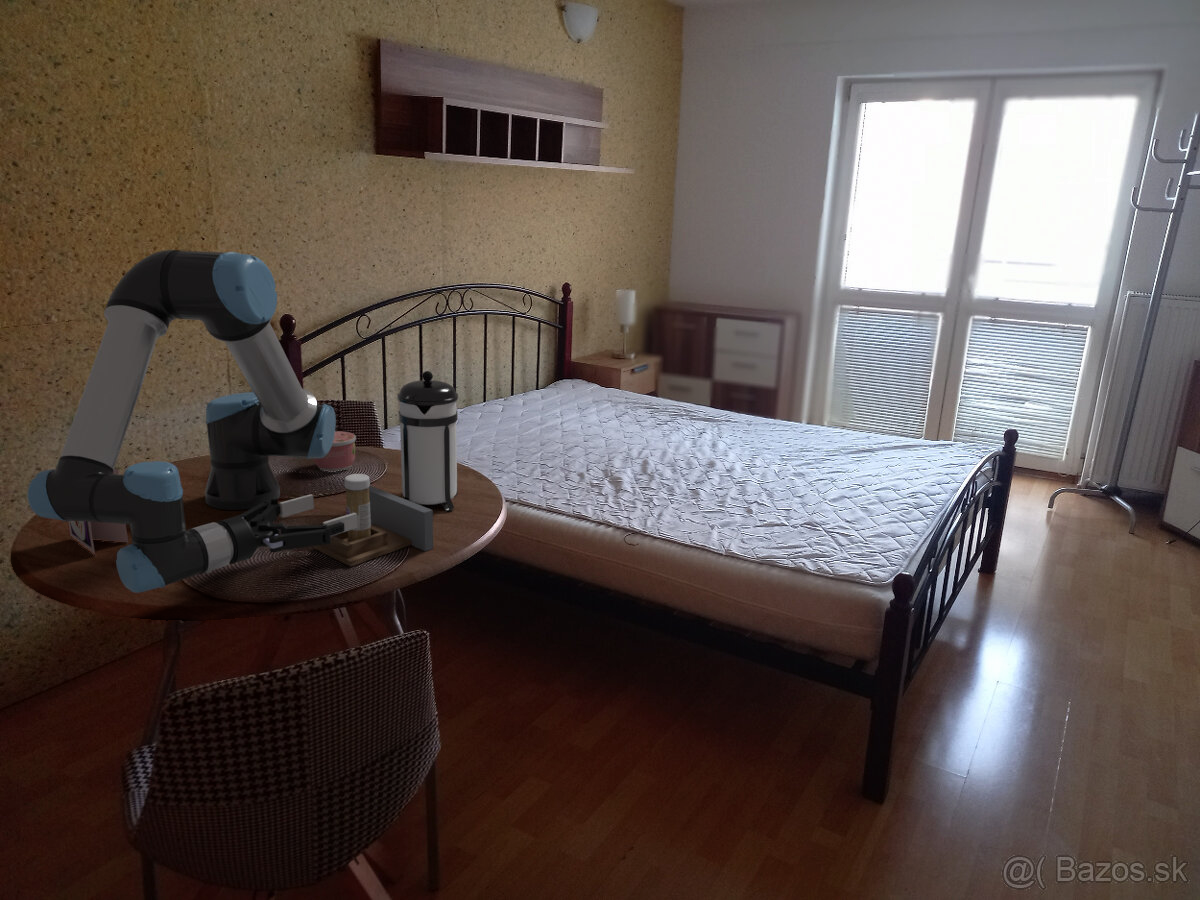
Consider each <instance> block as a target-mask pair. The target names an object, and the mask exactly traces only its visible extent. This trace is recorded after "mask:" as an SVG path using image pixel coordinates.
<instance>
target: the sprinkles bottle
mask: <svg viewBox="0 0 1200 900" xmlns="http://www.w3.org/2000/svg"><path fill="white" fill-rule="evenodd" d="M369 486H371V482H370V476H369V475H367V474H364V473H353V474H349V475H347V476H345V477H344V488H345V492H346V493H345V494H346V507H345V508H346V515H348V514H352V513H356V514H357V527H358V528H355V529H352V530H349V531H348V540H347V542H348V543H350V542H353V541H356V540H359V539H362V538H365V537H368V536H371V531H370V526H371V519H370V500H369Z"/></svg>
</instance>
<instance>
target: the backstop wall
mask: <svg viewBox="0 0 1200 900" xmlns="http://www.w3.org/2000/svg"><path fill="white" fill-rule="evenodd" d="M369 500H370V519H371V524H376V525H378V526H381V527H383V528H385V529H387V530H390V531H392V532H394V533H397V534H399V535H401V536H403V537H406V538H408V539H410V540H411V541H412V545H411V547H415V548H416V549H418V550H421V551H424V552H427V551H430V550H433V549H434V524H433V523H434V520H433V519H434V513H433V509H431V508H428V507H425V506H423V505H422V504H417V503H413V502H411V501H408V500H406V499H404V497H400V496H398V495H395V494H393V493H390V492H387V491H385V490H382V489H380V488H377V487H375V486H372V485H370V486H369Z"/></svg>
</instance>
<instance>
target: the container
mask: <svg viewBox="0 0 1200 900" xmlns="http://www.w3.org/2000/svg"><path fill="white" fill-rule="evenodd" d="M356 438H357V436H356V435H355V434H354V433H352V432H347V431H340V430H339V431H338V430H337V431H336V430H335V434H334V439H333V443H332V446H331V449H330V451H329V452H328V454H327V455H326V456H325V457H323V458H313V461H314V463H315V466H316V467H318V469H319V468H320V469H322V470H329V471H336V470H337V471H338V470H344V469H348V468H349V467H351V468H352V465H353V464H354V462H355V459H356V443H355V442H356V440H357V439H356Z"/></svg>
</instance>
